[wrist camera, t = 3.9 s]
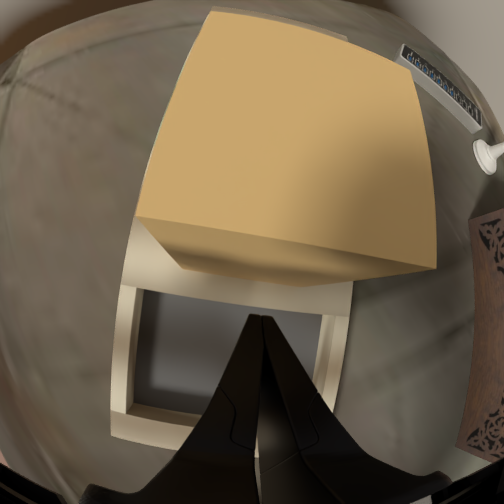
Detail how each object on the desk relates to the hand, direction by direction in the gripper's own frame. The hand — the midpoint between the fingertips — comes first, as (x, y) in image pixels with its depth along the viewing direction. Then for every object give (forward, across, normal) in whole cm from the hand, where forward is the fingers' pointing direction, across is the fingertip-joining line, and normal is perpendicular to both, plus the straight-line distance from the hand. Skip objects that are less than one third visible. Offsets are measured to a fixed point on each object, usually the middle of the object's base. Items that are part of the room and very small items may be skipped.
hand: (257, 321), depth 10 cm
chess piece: (+21, -29, -9) cm, 37 cm away
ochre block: (+8, 0, +1) cm, 8 cm away
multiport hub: (+27, -22, -14) cm, 38 cm away
